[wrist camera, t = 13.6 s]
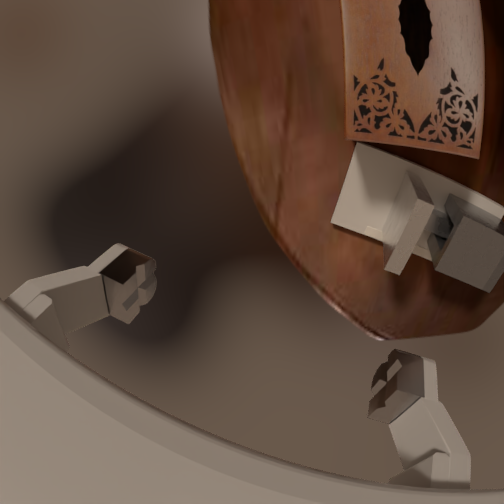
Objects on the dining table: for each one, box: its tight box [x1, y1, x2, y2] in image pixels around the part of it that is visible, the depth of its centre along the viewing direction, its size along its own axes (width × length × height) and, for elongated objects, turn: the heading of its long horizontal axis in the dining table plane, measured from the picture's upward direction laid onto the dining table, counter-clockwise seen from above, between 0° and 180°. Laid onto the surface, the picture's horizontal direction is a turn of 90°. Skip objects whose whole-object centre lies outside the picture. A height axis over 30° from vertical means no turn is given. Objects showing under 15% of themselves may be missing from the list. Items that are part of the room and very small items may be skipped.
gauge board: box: [331, 141, 504, 261], centre depth 38 cm, size 12×24×1 cm, turn 78°
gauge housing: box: [427, 193, 504, 293], centre depth 33 cm, size 8×10×7 cm
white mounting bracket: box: [382, 170, 454, 275], centre depth 33 cm, size 11×11×10 cm
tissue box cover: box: [339, 0, 485, 159], centre depth 23 cm, size 26×14×10 cm, turn 2°
